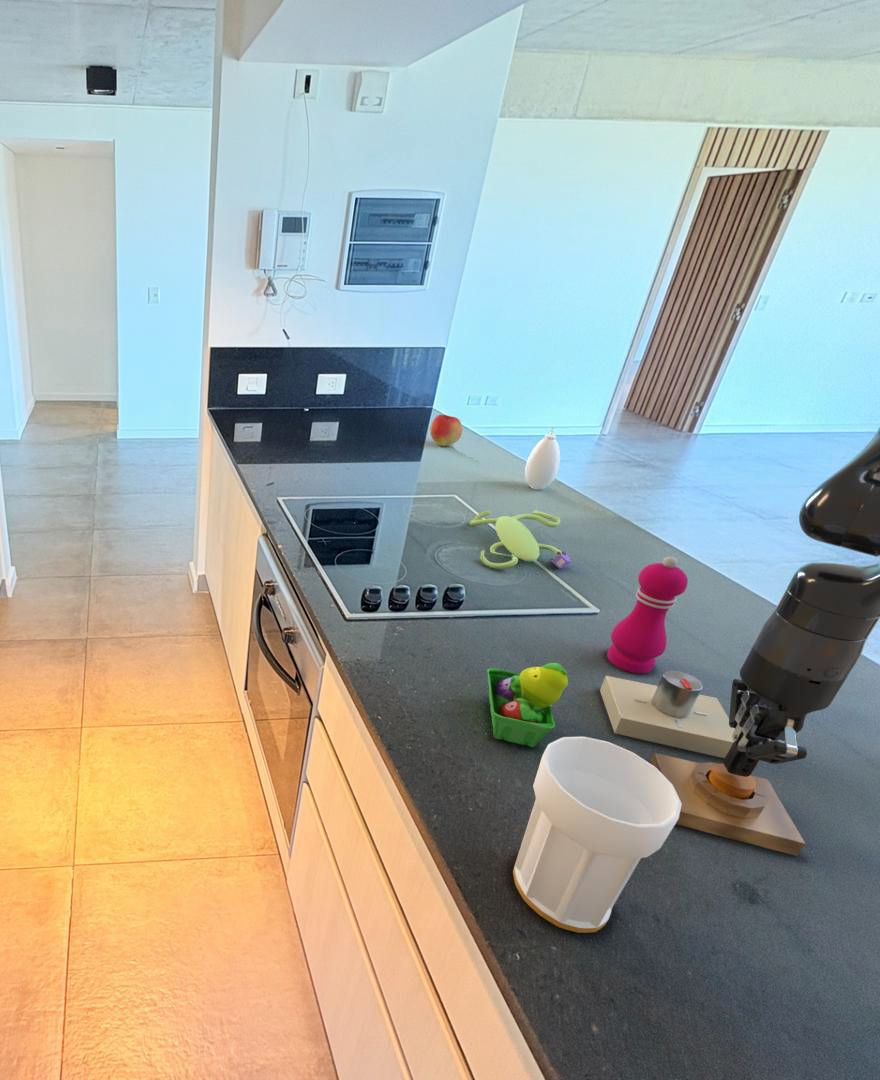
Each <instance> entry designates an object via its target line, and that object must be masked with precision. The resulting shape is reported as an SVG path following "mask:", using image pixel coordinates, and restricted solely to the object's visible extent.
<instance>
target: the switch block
mask: <svg viewBox="0 0 880 1080" xmlns="http://www.w3.org/2000/svg"><path fill="white" fill-rule="evenodd" d="M649 763H650V764H651V765H653V766H655V767H656V768H657V769H658V770H659V771H660V772H661V773H662V774H663V775H664V776H665V777H666V778H667V779H668V781H669V782H670V783H671V784H672V785H673V786H674V789H675V791H676V793H677V795H678V797H679V799H680V801H681V803H682V805H681V810H680V815H679V819H678V821H677V822H676V824H675V825H677V826H681V827H685V828H688V829H692V830H696V831H699V832H703V833H708V834H712V835H715V836H719V837H723V838H726V839H730V840H735V841H737V842H741V843H746V844H748V845H749V844H750V845H753V846H756V847H761V848H764V849H768V850H771V851H772V850H773V851H775V852H780V853H783V854H786V855H790V856H795V857H798V855H799V854H800V853H801V852H802V850H803V848H804V847H805V846H806V842H805V840H804V839H803V837H802V835H801V833H800V832H799V830H798V828H797V826H796V825H795V823H794V822H793V820H792V818H791V816H790V814H789V813H788V811H787V809H786V808H785V807H784V804H783V803H782V801H781V799H780V798H779V796H778V794H777V793H776V791H775V789H774V787H773V786H772V784H771V782H770V781H769V779H767V778H765V777H760V776H755V775H752V774H751V775H750V776H751V777H752V778H753V779H754V781H755V782H756V787H755V789H754V791H753V792H752V794H751V796H750V797H749V798H748V799H743V800H742V799H738V798H734V797H730V796H728V795H726V794H724V793H722V792H720V791H718V790H717V789H716V788H715V787H714V786H713V785H711V784H710V782H709V780H708V776H709V774H710V773H711V771H712V769H713V767H714V766H715V765H717V764H718V763H716V762H712V761H708V762H696V761H692V760H687V759H683V758H678V757H675V756H670V755H667V754H661V753H657V752H654V753H653V756H652V757H651V760H650V762H649Z"/></svg>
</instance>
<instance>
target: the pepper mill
mask: <svg viewBox="0 0 880 1080" xmlns="http://www.w3.org/2000/svg"><path fill="white" fill-rule="evenodd" d="M678 564H679V563H678V559H677V558H676V557H674V556H666V557H663V560H662V562H654V563H651V564H648V565H646V566H644V568H642V570H641V571H640V572H639V574H638V577H637V581H638V584H639V587H638V588H637V589H636V590H637V592H636V593H635V595H634V596H635V598H636V603H635V605H634V607H633V609H632V610H631V612H630V613H629V614H628V615H627V616H626V617H625V618H622V619H621V620H620V621H619V622H618V623H617V624H616V625H615V626H614V628H613V629H612V632H611V633H610V640H611V643H612V644H611V645H610V646H609V649H608V651H607V654H606V657H607V659H608V661H609V662H610V663H611V664H612V665H614V666H615V667H617V668H619V669H621V670H623V671H625V672H629V673H633V674H638V675H639V674H641V675H643V674H648V673H650V672H652V670H653V669H654V666H655V664H656V659H657V658H659V657H661V656H662V655H663V654H664V653H665V650H666V647H667V632H666V627H665V625H666V616H667V613H668V611H669V610H670V609H673V608H674V607H675V604H676V602H677V600H678V599H677V597H679V596H680V595H682V594H684V593H685V592H686V590H687V588H688V584H689V583H688V582H689V581H688V576H687V574H686V573H685V571H684V570H683V569H681V568H679V567H678Z"/></svg>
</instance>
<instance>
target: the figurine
mask: <svg viewBox="0 0 880 1080" xmlns="http://www.w3.org/2000/svg"><path fill="white" fill-rule="evenodd" d="M531 513H532V514H531ZM531 513H522V514H521V513H520V514H516V515H513V516H507V515H502V516H499V517H498V518H497V517H493V518H492V517H491V518H486V517H487V516H490V515H491V511H490V510H489V509H488V510H484V511H483V512H480V513H478V514H477V515H475V516H474V517H472V518H471V519H470V520H469V522H468V525H469V526H471V527H476V526H481V525H486V524H487V525H488V524H489V525H490V524H495V526H494V527H495V531H496V535H497V537H498V538H499V541H497V542H495V543H493V544H492V545H491V546H490V548H489V551H490V553H491V554H493V555H497V556H503V557H509V558H511V560H509V561H506V562H501V563H500V562H499V563H498V562H496V563H495V562H491V561H489V560H488V559H487V558H486V556H485V553H486V550H485V549H483V550H481V551H480V555H479V558H480V561H481V563H483V564H484V565H485V566H486V567H488V568H490V569H494V570H495V569H496V570H505V569H509V568H511V567H514V566H516V565H517V564H518V563H519V560H522V561H525V562H535V561H537V560H538V558H539V557H540V550H541V549H542V550H548V551H549V552H552V553H554V554H555V557H554V558H550V560H549V561H550V562H551V563H552V564H554V565H555V566H556V567H557V568H558V569H564V568H566V567H567V566H568V565H569V564H570V563H571V562H572V560H571V559H570V556H569V555H568V554H567V553H566V552H565V551H561V550H560V549H558V548H556V547H555V546H553V545H549V544H544V543H539V542H538V541H537V539H536V538H535V536H534V535H533V533H532V532H531V530H530V529H529V528H528V527H527V526H525V524H524V523H522V522H521V521H520V520H533V521H537V522H538V523H541V524H542V525H544V526H546V527H549V528H556V527H558V526H559V525H560V524H561V518H560V517H558V516H556V515H553V514H549V513H546V512H542V511H540V510H535V509H534V510H532V512H531ZM549 520H550V521H549ZM502 547H505V548H506V549H507V551H508V552H509V553H510V554H506V553H500V552H497V551H496V550H498V549H499V548H502Z"/></svg>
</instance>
